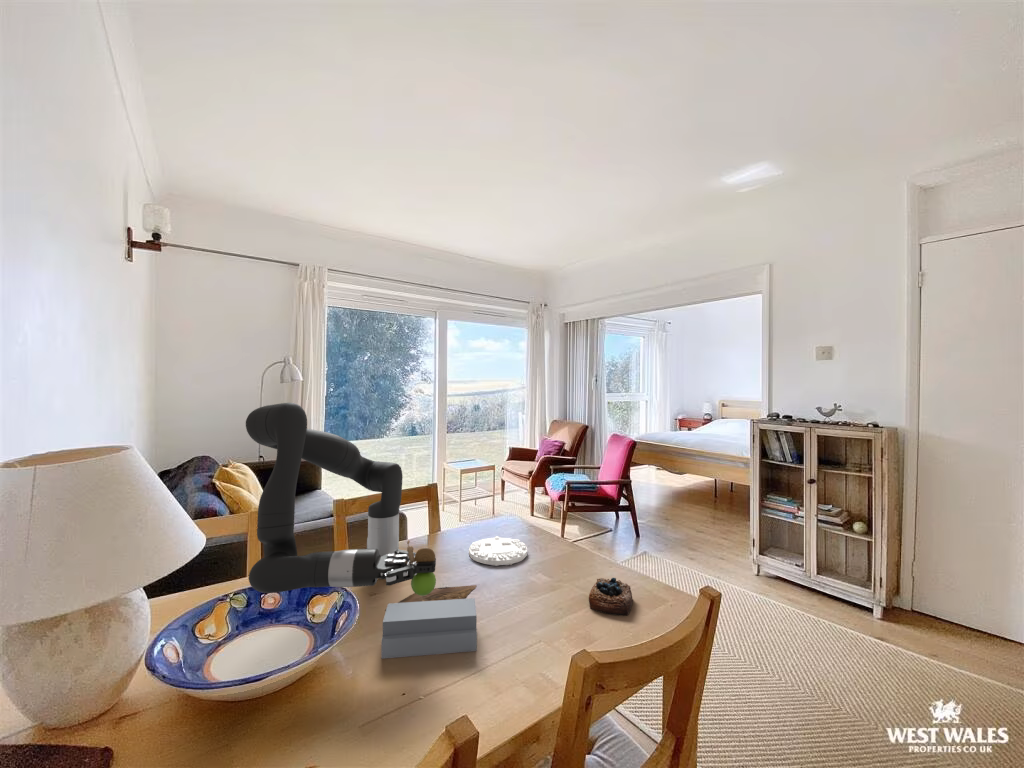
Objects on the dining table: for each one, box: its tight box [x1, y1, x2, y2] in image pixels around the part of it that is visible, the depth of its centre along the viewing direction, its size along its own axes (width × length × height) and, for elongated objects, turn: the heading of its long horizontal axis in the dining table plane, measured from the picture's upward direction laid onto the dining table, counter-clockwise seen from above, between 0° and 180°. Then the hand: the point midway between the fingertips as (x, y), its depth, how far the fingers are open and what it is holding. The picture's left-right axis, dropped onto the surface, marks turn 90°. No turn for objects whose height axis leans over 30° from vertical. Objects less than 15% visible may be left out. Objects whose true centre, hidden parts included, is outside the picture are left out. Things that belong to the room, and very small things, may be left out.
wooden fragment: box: [384, 584, 477, 612], centre depth 112 cm, size 26×11×1 cm, turn 120°
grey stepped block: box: [380, 597, 478, 660], centre depth 94 cm, size 20×10×7 cm, turn 98°
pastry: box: [588, 577, 634, 617], centre depth 111 cm, size 11×12×6 cm
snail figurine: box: [406, 539, 437, 596], centre depth 92 cm, size 5×6×12 cm
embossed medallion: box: [468, 535, 528, 567], centre depth 142 cm, size 20×20×3 cm
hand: (435, 564), depth 93 cm, fingers closed on snail figurine
